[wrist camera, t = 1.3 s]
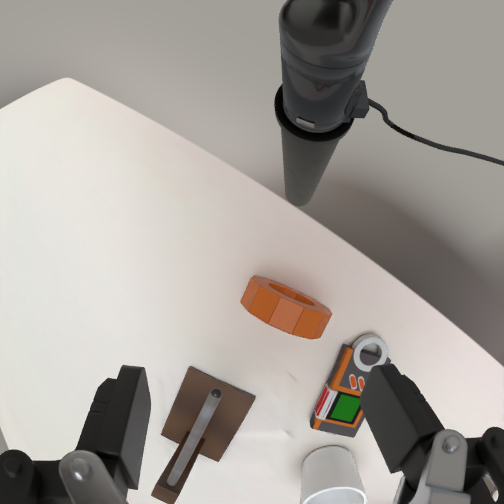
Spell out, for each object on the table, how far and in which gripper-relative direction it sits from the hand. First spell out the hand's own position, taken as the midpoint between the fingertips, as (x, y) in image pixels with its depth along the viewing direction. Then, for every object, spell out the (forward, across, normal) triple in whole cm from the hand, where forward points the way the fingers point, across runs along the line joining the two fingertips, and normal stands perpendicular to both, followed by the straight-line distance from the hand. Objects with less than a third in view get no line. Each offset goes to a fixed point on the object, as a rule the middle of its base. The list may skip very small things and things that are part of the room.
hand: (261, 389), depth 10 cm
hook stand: (+23, +2, +27) cm, 35 cm away
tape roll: (+26, -7, +11) cm, 29 cm away
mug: (+15, -16, +36) cm, 42 cm away
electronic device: (+20, -17, +21) cm, 34 cm away
